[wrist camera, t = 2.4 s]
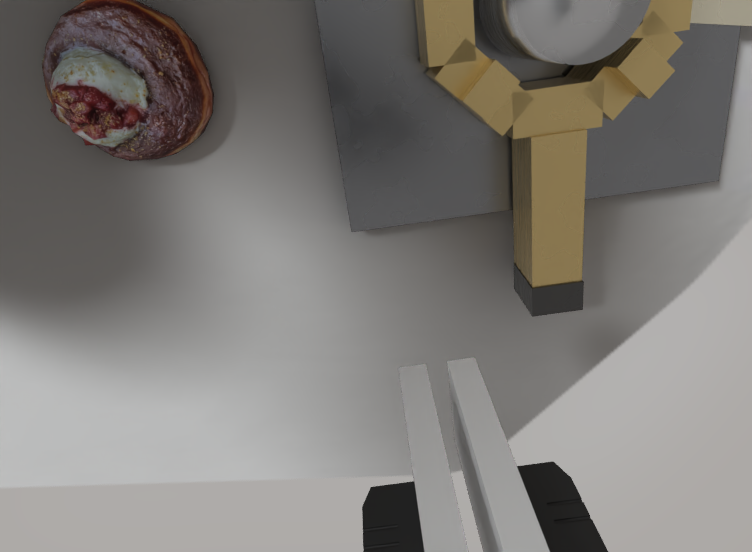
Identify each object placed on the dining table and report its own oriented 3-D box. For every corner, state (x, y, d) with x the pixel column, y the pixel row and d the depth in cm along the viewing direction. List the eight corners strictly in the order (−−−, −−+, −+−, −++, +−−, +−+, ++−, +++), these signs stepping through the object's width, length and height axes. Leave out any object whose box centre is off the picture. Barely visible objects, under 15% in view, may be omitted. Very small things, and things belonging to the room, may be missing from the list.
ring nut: (402, -130, 22) (414, -165, 18) (668, -170, 22) (736, -214, 18) (441, 298, 30) (454, 336, 26) (632, 272, 30) (673, 306, 26)
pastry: (48, 132, 27) (-13, 151, 23) (57, -27, 24) (-11, -42, 20) (204, 175, 28) (176, 202, 24) (230, 28, 26) (204, 27, 21)
